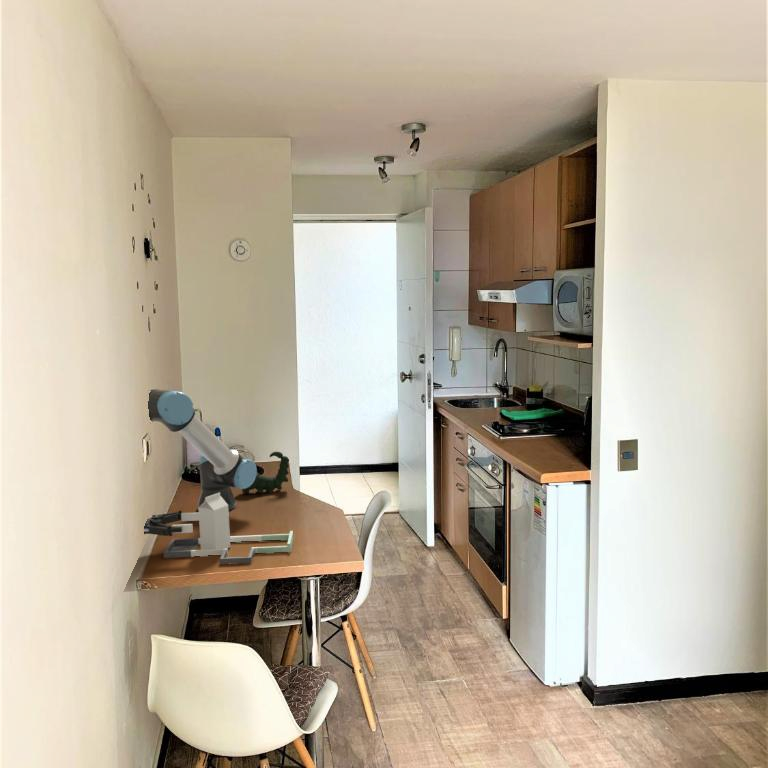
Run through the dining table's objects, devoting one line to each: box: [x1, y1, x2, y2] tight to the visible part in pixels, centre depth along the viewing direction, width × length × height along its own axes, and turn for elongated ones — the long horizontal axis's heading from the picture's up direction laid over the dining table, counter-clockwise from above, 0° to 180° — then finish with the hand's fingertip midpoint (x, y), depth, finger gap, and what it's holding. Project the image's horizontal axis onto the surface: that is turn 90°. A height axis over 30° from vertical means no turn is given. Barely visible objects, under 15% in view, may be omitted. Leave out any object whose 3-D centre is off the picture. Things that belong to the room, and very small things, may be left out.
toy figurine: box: [241, 451, 290, 495], centre depth 336 cm, size 9×19×25 cm
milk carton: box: [198, 493, 231, 550], centre depth 262 cm, size 7×7×19 cm
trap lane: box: [162, 530, 294, 565], centre depth 259 cm, size 23×42×3 cm, turn 93°
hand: (196, 522), depth 261 cm, fingers open, 13 cm apart
